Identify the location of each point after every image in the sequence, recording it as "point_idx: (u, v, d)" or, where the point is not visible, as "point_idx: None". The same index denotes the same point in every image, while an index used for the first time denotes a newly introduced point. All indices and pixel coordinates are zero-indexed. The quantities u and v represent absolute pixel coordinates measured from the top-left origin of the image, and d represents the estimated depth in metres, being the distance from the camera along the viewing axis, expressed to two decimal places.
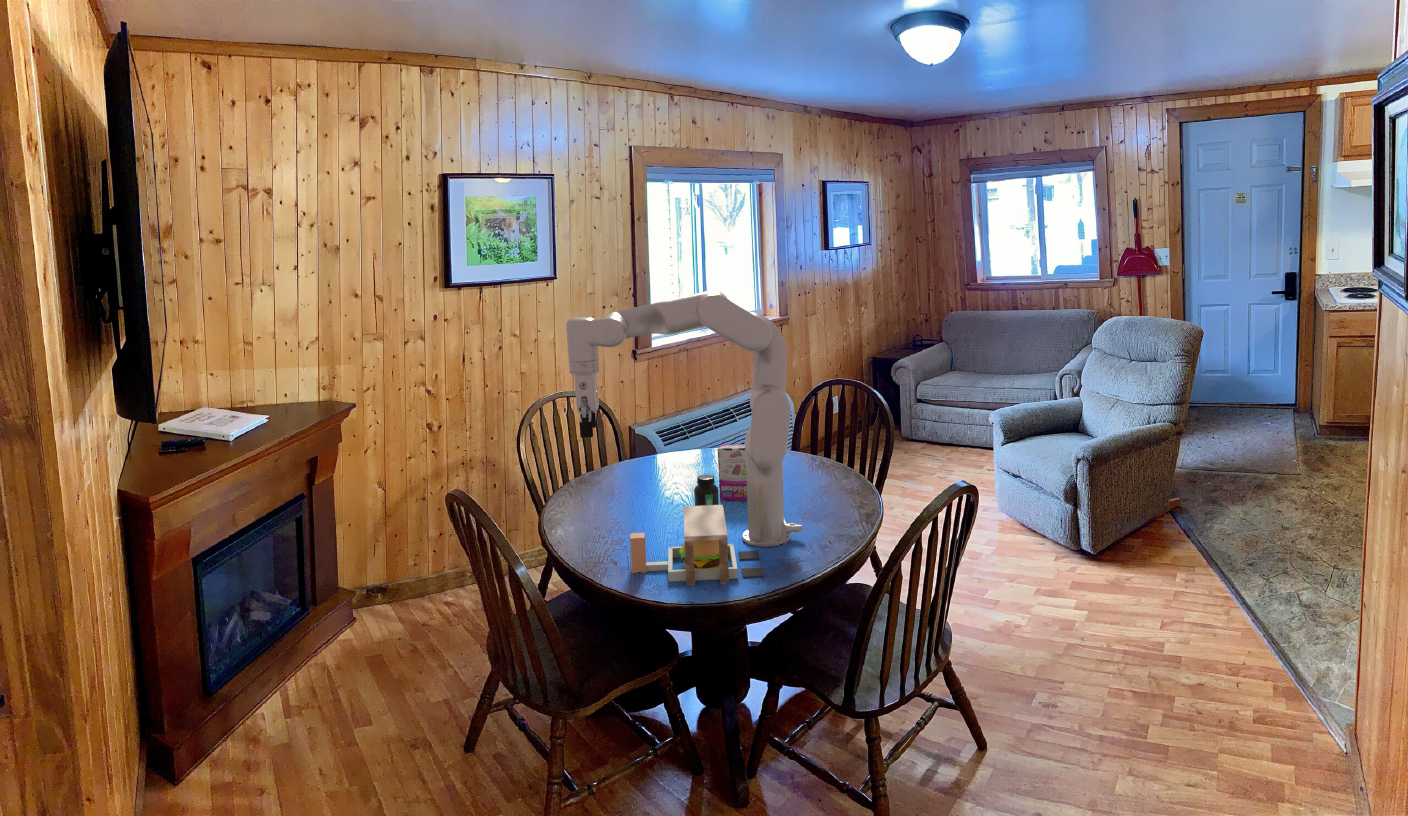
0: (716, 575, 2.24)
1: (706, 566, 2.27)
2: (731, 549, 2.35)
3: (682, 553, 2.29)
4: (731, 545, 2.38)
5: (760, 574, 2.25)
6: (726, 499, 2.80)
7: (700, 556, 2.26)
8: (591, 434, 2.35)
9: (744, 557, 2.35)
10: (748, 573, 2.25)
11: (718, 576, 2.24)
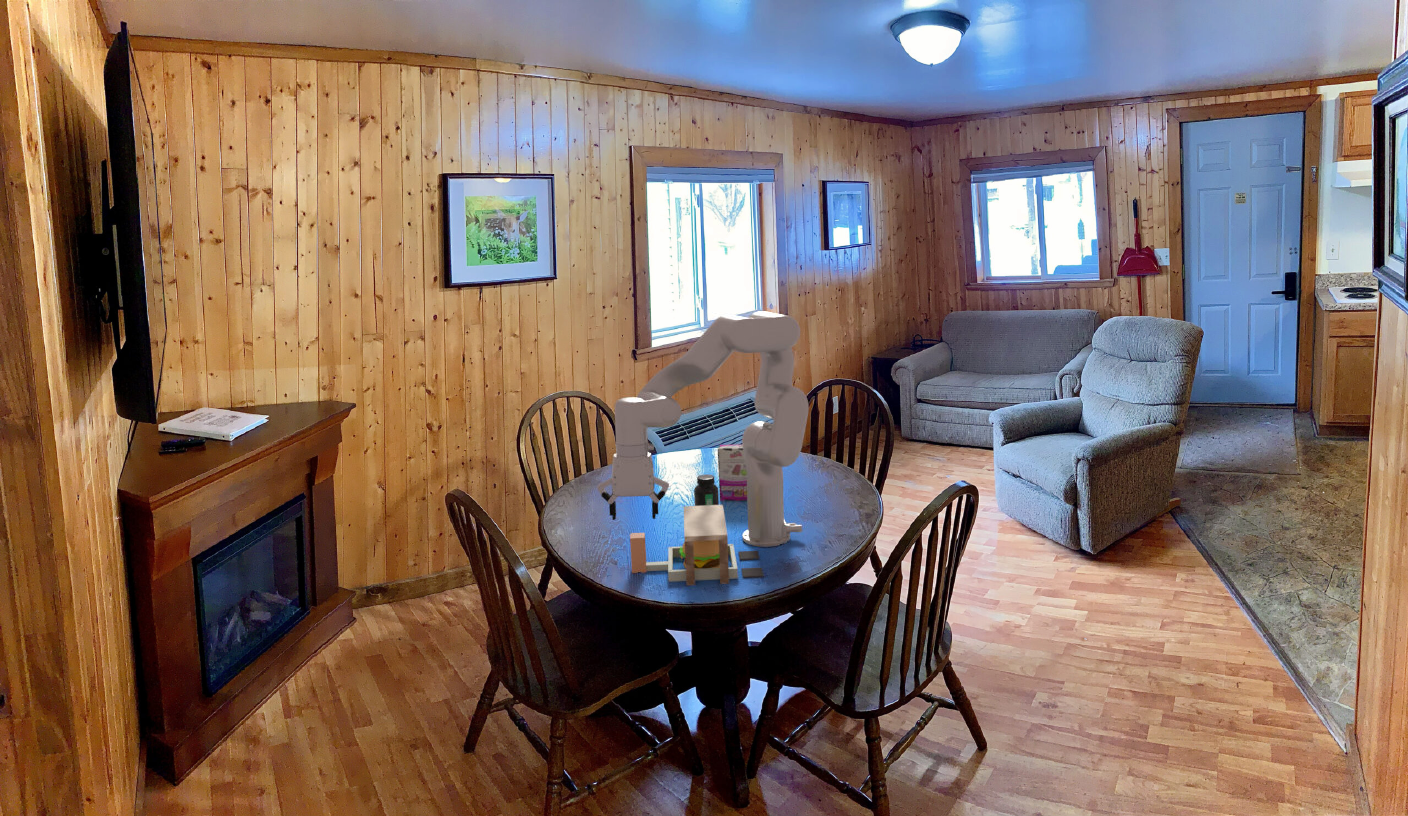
0: (716, 575, 2.24)
1: (706, 566, 2.27)
2: (731, 549, 2.35)
3: (682, 553, 2.29)
4: (731, 545, 2.38)
5: (760, 574, 2.25)
6: (726, 499, 2.80)
7: (700, 556, 2.26)
8: None
9: (744, 557, 2.35)
10: (748, 573, 2.25)
11: (718, 576, 2.24)
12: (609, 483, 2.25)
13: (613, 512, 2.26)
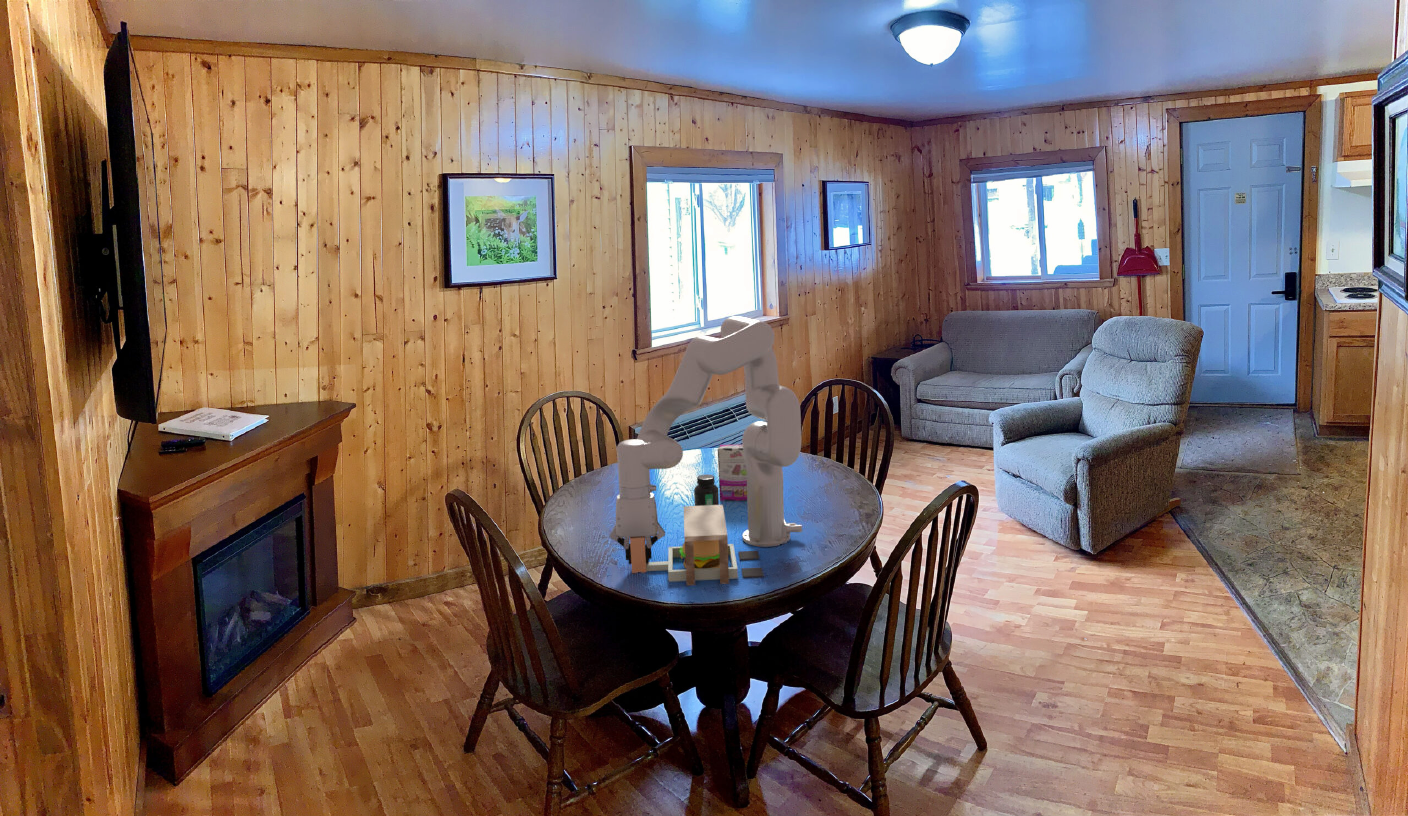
0: (716, 575, 2.24)
1: (706, 566, 2.27)
2: (731, 549, 2.35)
3: (682, 553, 2.29)
4: (731, 545, 2.38)
5: (760, 574, 2.25)
6: (726, 499, 2.80)
7: (700, 556, 2.26)
8: None
9: (744, 557, 2.35)
10: (748, 573, 2.25)
11: (718, 576, 2.24)
12: None
13: (629, 557, 2.29)
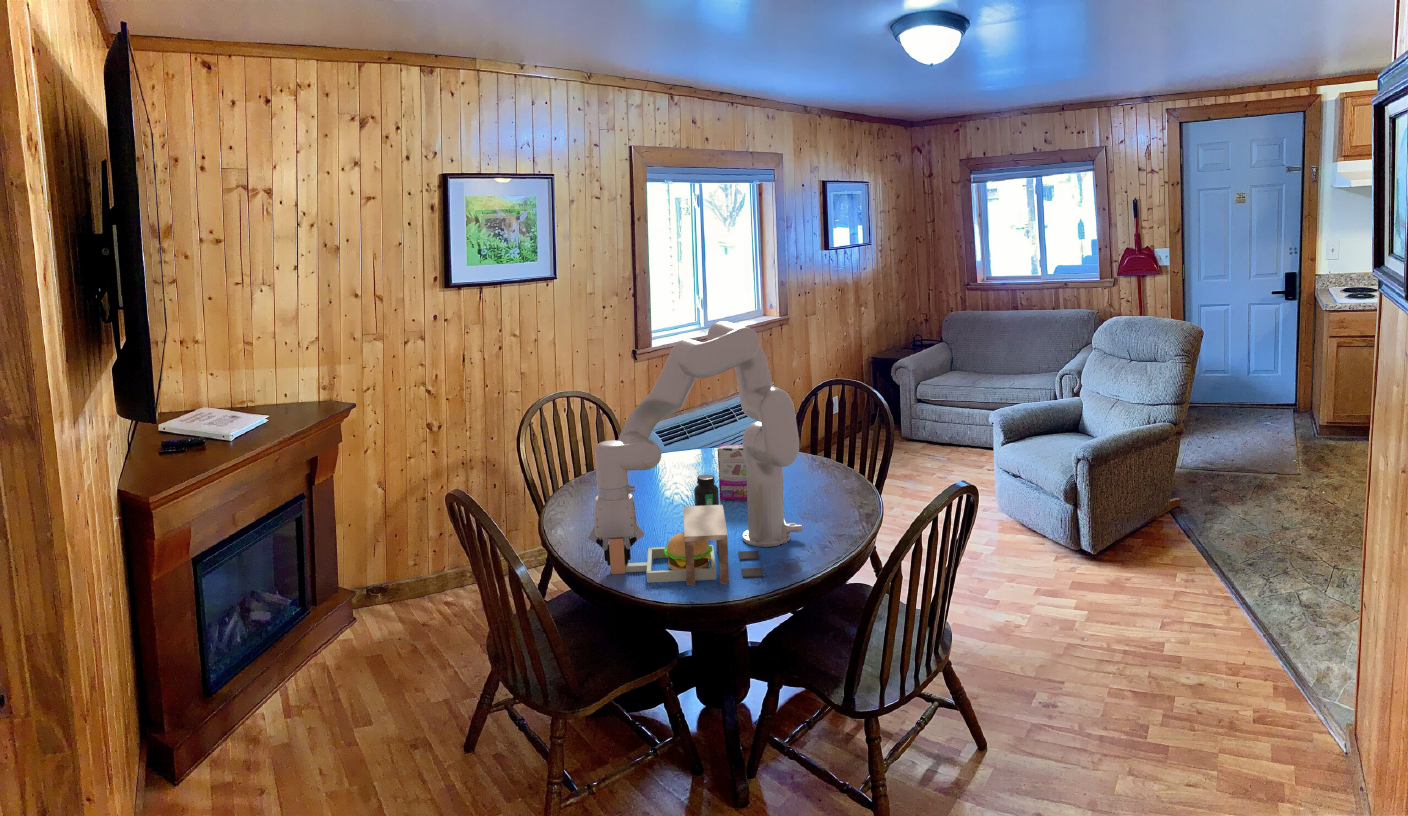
0: None
1: None
2: None
3: (666, 552, 2.29)
4: None
5: (760, 574, 2.25)
6: (726, 499, 2.80)
7: (682, 556, 2.26)
8: None
9: (744, 557, 2.35)
10: (748, 573, 2.25)
11: (696, 577, 2.24)
12: None
13: (608, 558, 2.29)
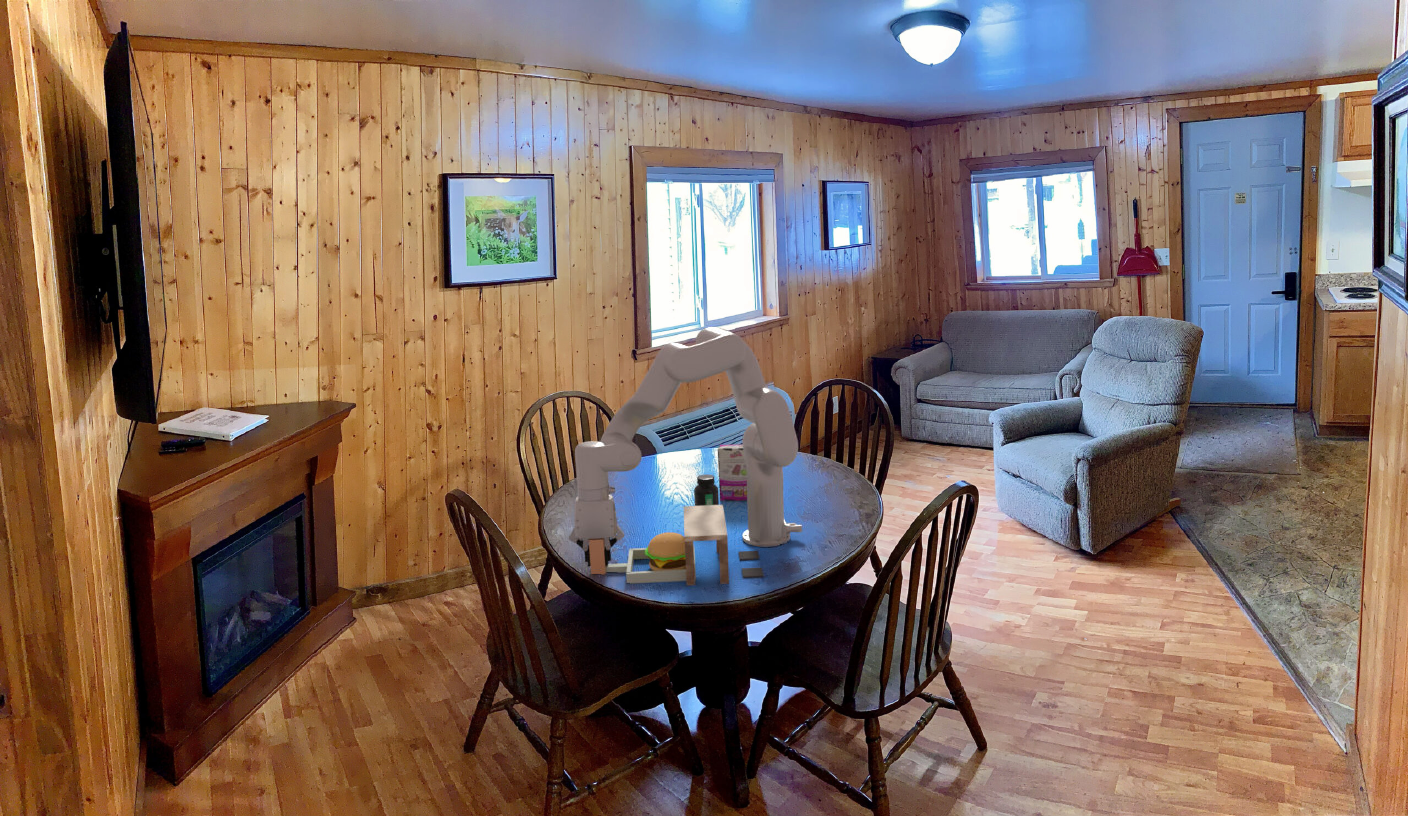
0: (674, 577, 2.23)
1: (667, 566, 2.27)
2: None
3: (646, 552, 2.30)
4: None
5: (760, 574, 2.25)
6: (726, 499, 2.80)
7: (661, 556, 2.27)
8: None
9: (744, 557, 2.35)
10: (748, 573, 2.25)
11: (676, 578, 2.24)
12: None
13: (588, 559, 2.29)
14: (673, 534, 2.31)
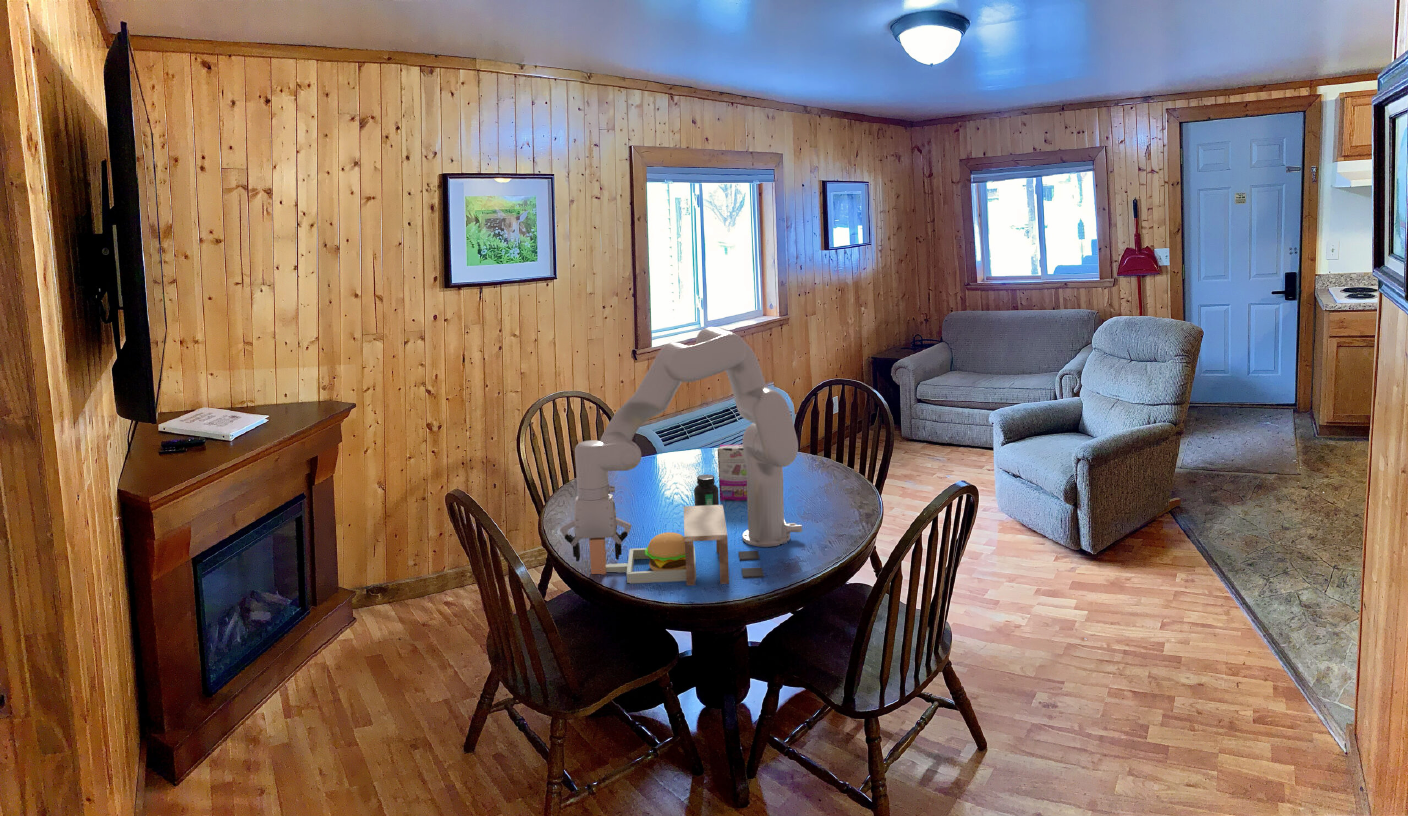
0: (675, 577, 2.23)
1: (667, 566, 2.27)
2: None
3: (646, 552, 2.30)
4: None
5: (760, 574, 2.25)
6: (726, 499, 2.80)
7: (660, 556, 2.27)
8: None
9: (744, 557, 2.35)
10: (748, 573, 2.25)
11: (677, 578, 2.24)
12: (572, 525, 2.28)
13: (576, 554, 2.28)
14: (673, 534, 2.31)
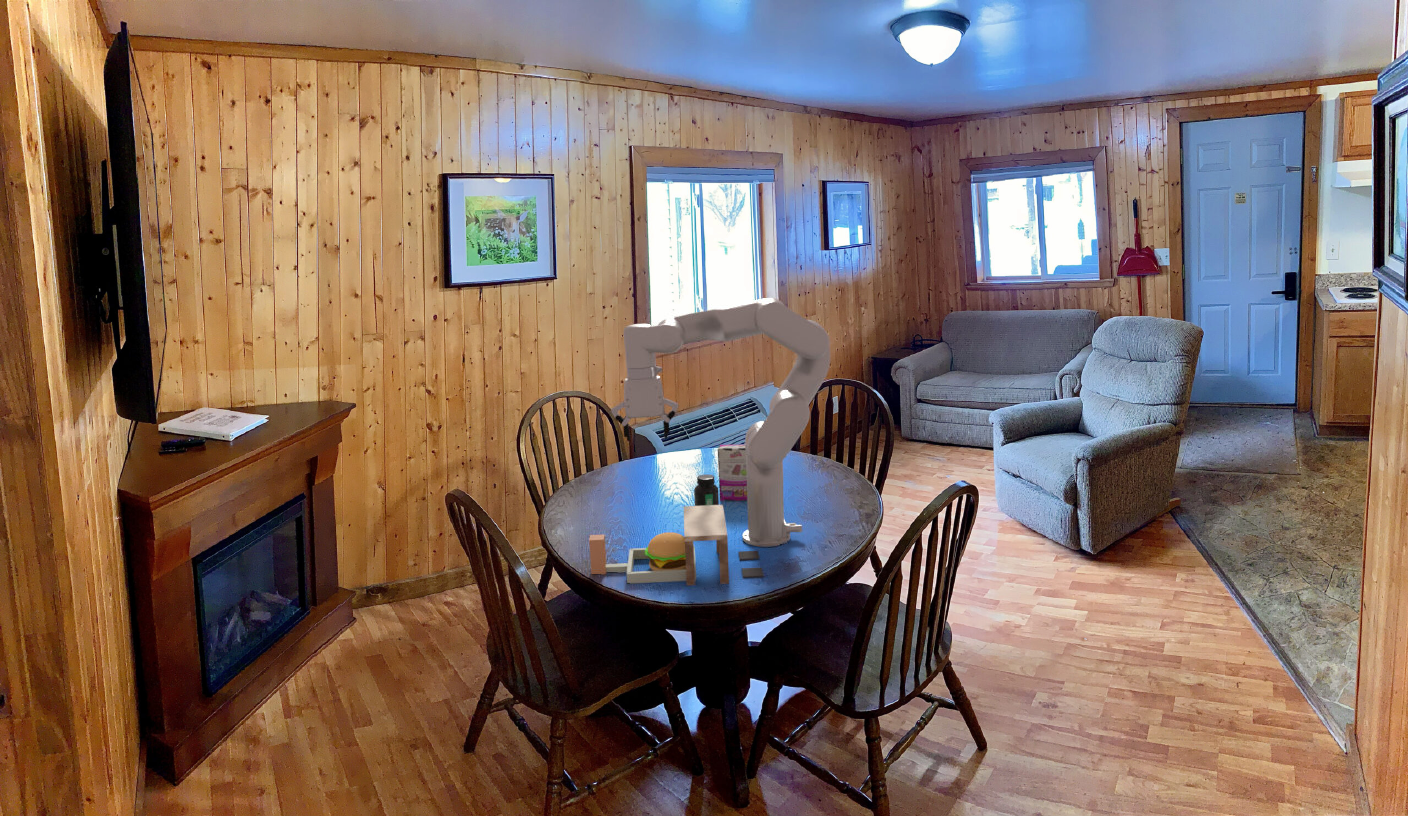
0: (675, 577, 2.23)
1: (667, 566, 2.27)
2: None
3: (646, 552, 2.30)
4: None
5: (760, 574, 2.25)
6: (726, 499, 2.80)
7: (660, 556, 2.27)
8: None
9: (744, 557, 2.35)
10: (748, 573, 2.25)
11: (677, 578, 2.24)
12: (622, 406, 2.39)
13: (627, 433, 2.40)
14: (673, 534, 2.31)
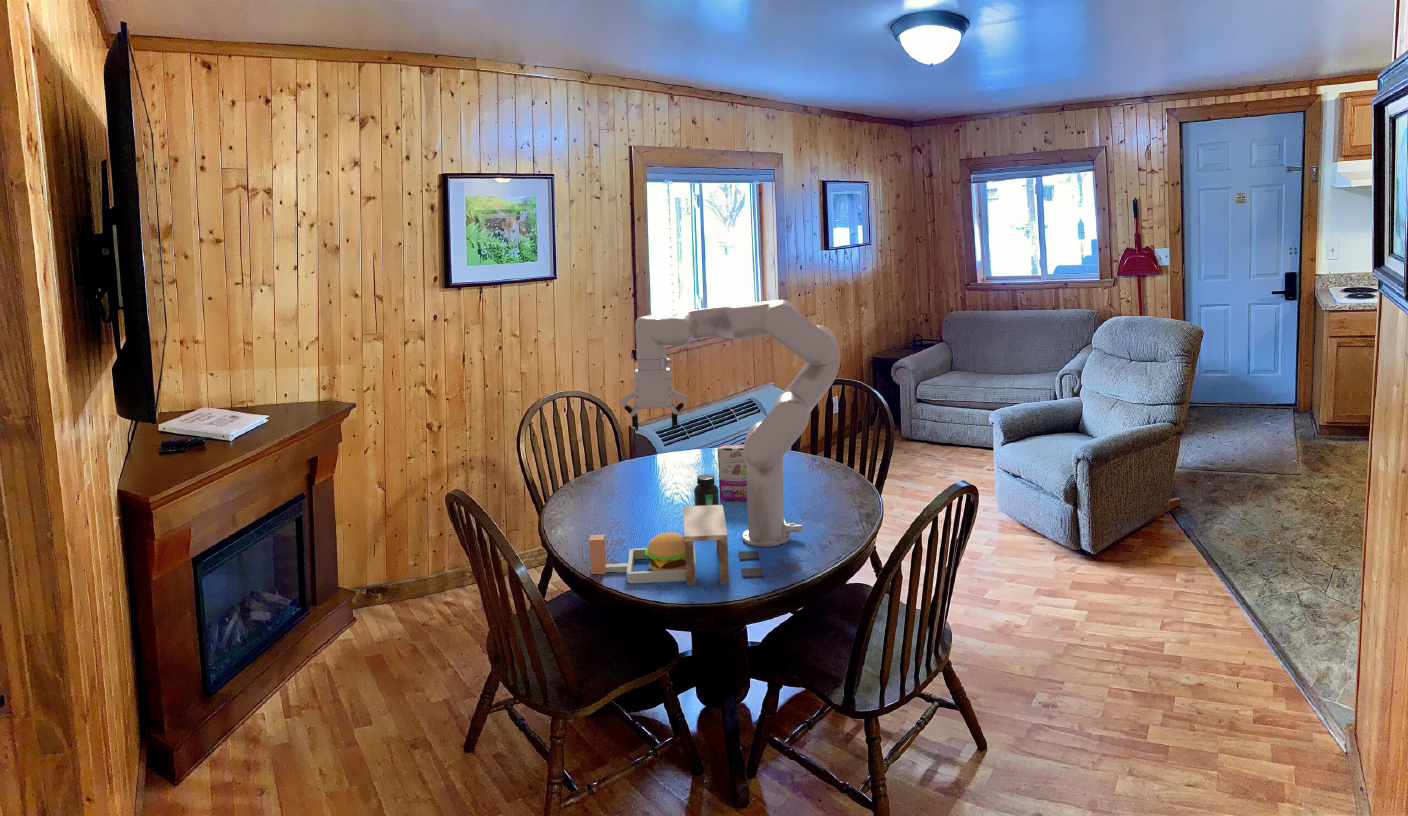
0: (675, 577, 2.23)
1: (667, 566, 2.27)
2: None
3: (646, 552, 2.30)
4: None
5: (760, 574, 2.25)
6: (726, 499, 2.80)
7: (660, 556, 2.27)
8: None
9: (744, 557, 2.35)
10: (748, 573, 2.25)
11: (677, 578, 2.24)
12: (631, 396, 2.42)
13: (636, 423, 2.43)
14: (673, 534, 2.31)
